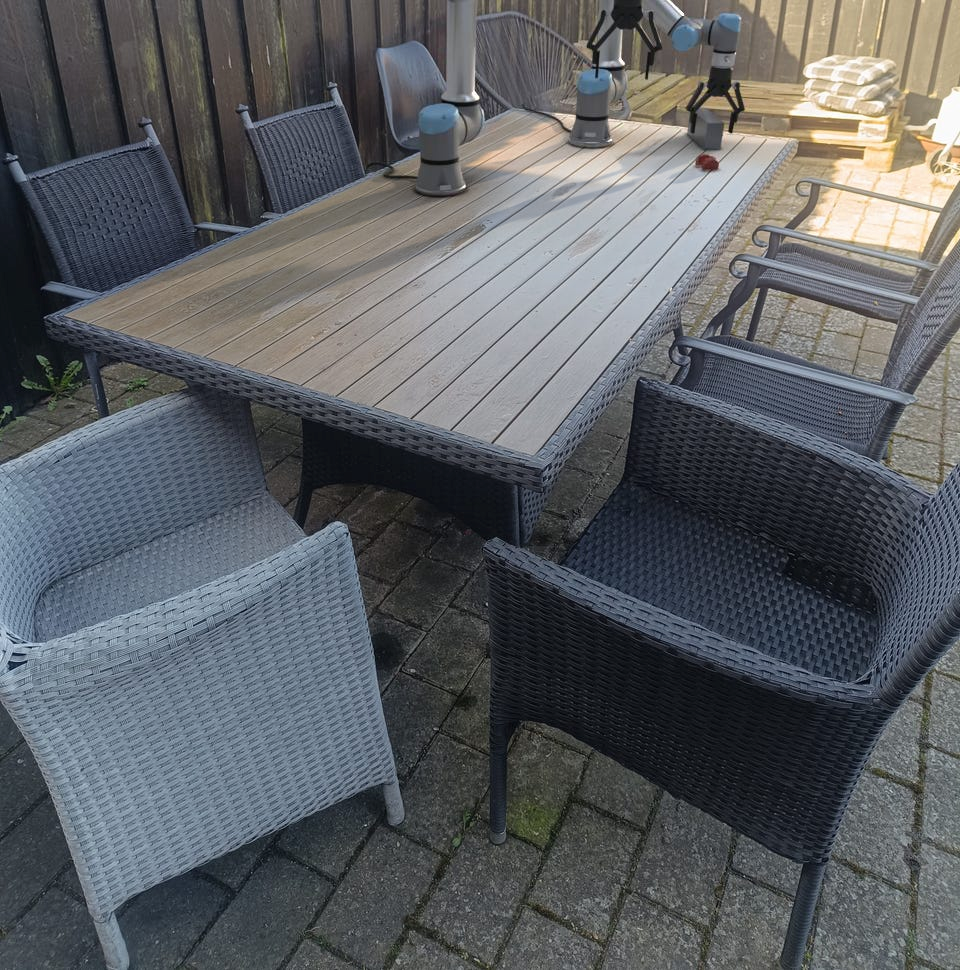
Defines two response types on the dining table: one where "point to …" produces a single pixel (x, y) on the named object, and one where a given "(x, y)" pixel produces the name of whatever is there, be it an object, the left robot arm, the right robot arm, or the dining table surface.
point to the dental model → (707, 162)
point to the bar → (707, 130)
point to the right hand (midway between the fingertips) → (711, 132)
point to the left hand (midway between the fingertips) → (621, 78)
